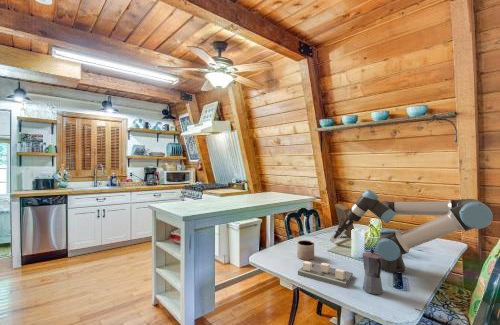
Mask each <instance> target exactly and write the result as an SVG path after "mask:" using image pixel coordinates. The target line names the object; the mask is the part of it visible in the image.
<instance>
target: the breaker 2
mask: <svg viewBox="0 0 500 325" xmlns="http://www.w3.org/2000/svg"><path fill="white" fill-rule="evenodd" d="M335 269H336V270H335V278H337V279H341V280H343V279H344V278H345V271H346V270H344V269H341V268H335Z"/></svg>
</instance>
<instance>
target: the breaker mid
mask: <svg viewBox="0 0 500 325" xmlns="http://www.w3.org/2000/svg"><path fill="white" fill-rule="evenodd" d="M320 265H321V272H325V273H328V272H329V271H330V268H331V267H330V265H331V264H330V263H326V262H322V263H320Z"/></svg>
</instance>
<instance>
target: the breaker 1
mask: <svg viewBox="0 0 500 325" xmlns="http://www.w3.org/2000/svg"><path fill="white" fill-rule="evenodd" d="M312 263H313V262H311V261H309V260H303V262H302V267H303V270H306V271H311V270H312Z"/></svg>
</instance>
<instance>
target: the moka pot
mask: <svg viewBox="0 0 500 325" xmlns="http://www.w3.org/2000/svg"><path fill="white" fill-rule="evenodd" d="M382 259H383V258H382V255H379V254H378V253H377V252H375V250H374V249H370V251H366V252H362V262H363V269H364V270H363V271H364V276H363V283H362V290H363V291H364V292H366V293H368V294H372V295H373V294H374V295H380V294H382V293H383V283H382V276H381V273H382V270H381V267H382Z"/></svg>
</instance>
